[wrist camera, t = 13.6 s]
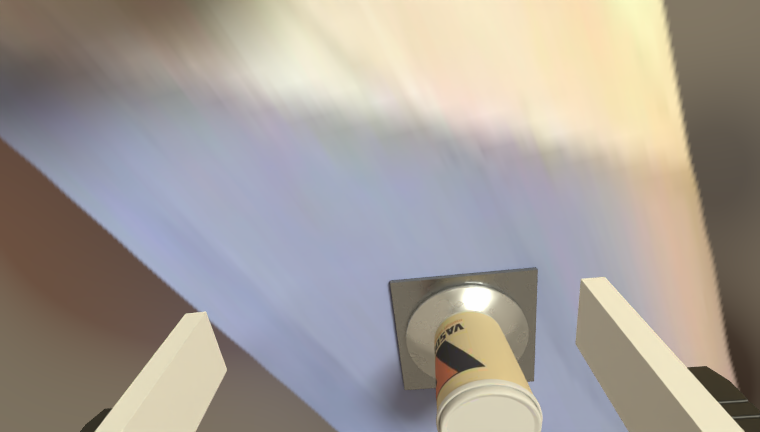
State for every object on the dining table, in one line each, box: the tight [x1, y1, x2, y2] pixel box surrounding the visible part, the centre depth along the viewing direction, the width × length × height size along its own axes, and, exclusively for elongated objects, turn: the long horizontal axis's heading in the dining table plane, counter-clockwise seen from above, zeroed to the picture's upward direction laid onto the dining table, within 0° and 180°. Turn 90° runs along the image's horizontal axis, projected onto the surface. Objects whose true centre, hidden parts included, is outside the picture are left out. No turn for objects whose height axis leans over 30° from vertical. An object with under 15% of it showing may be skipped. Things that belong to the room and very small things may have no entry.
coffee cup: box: [434, 310, 542, 432], centre depth 40 cm, size 9×9×12 cm
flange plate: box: [390, 267, 538, 390], centre depth 47 cm, size 16×16×1 cm
